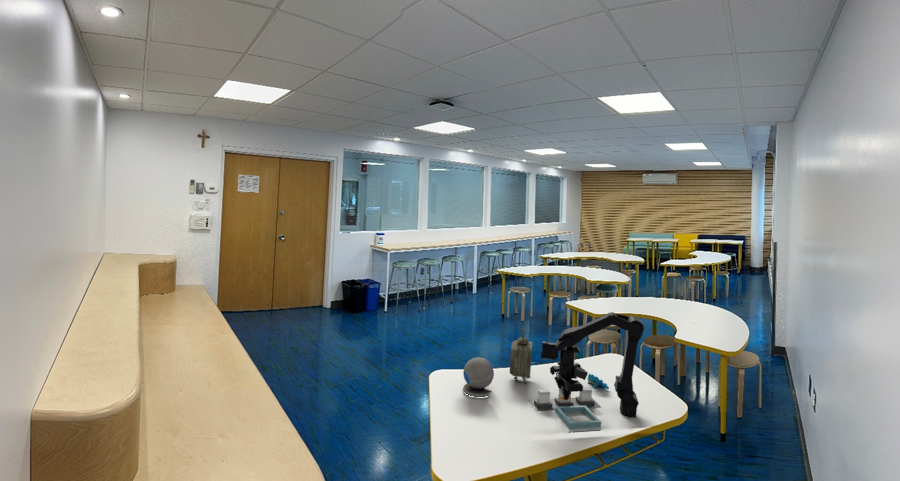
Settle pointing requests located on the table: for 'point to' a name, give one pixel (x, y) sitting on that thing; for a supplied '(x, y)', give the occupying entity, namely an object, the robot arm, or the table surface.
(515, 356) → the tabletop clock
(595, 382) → the gear
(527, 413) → the table surface
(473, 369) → the webcam
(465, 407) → the table surface
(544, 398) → the block
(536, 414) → the table surface
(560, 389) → the marked fuse
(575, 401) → the fuse holder
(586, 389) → the white fuse right
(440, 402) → the table surface
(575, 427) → the tray
